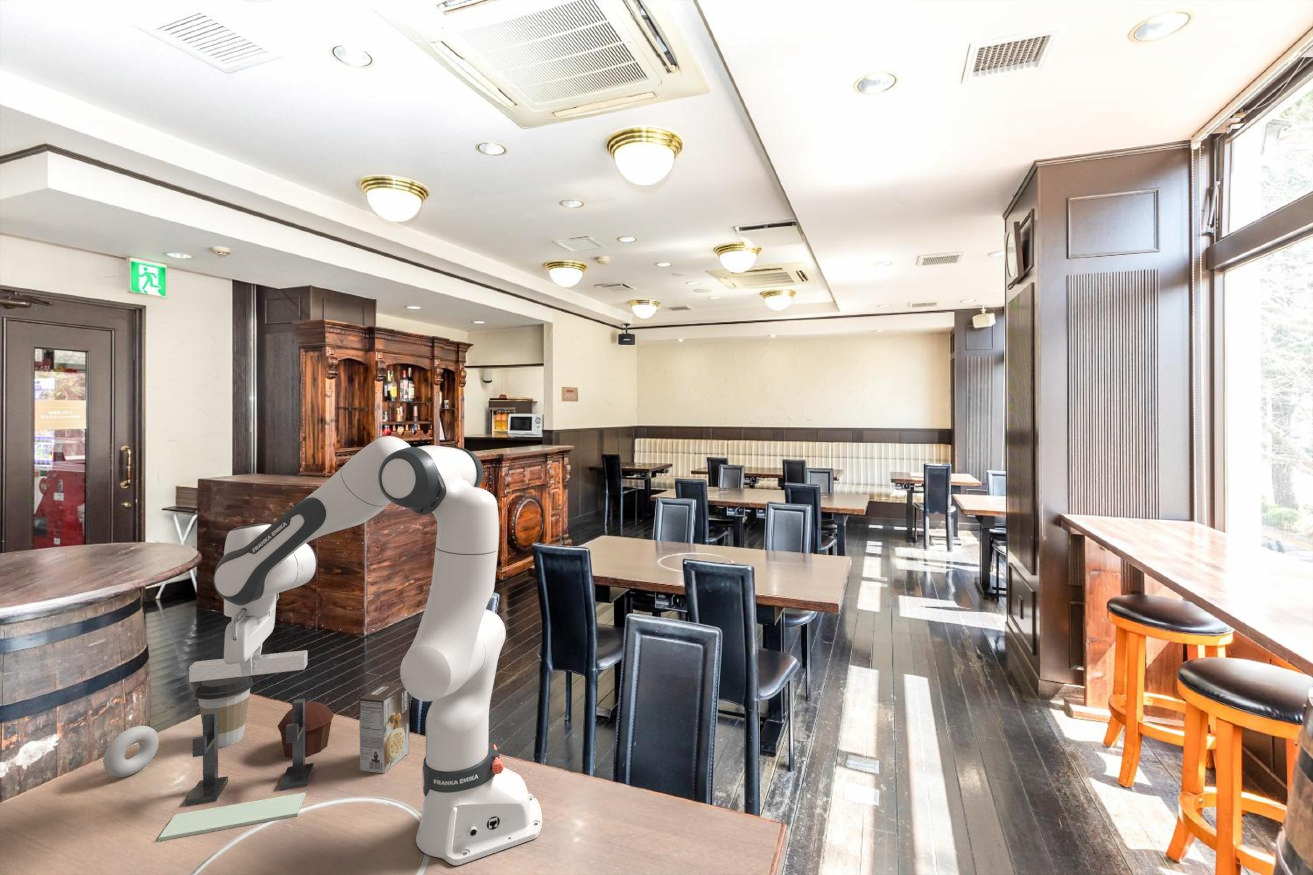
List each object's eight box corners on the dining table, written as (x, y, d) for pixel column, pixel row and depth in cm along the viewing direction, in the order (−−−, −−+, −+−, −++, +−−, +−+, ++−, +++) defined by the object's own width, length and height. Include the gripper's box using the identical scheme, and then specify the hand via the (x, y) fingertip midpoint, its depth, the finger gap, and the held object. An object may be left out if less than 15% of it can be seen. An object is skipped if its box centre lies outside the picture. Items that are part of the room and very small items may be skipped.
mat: (305, 794, 122) (305, 792, 122) (297, 815, 116) (297, 812, 116) (175, 817, 115) (175, 814, 115) (158, 840, 109) (158, 837, 109)
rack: (313, 768, 132) (313, 695, 132) (305, 788, 125) (305, 711, 124) (199, 786, 125) (199, 709, 125) (183, 809, 118) (183, 727, 118)
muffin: (325, 758, 136) (325, 714, 136) (270, 765, 133) (270, 720, 133) (338, 732, 148) (338, 692, 148) (287, 738, 145) (287, 697, 145)
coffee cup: (250, 724, 152) (250, 665, 152) (256, 742, 143) (256, 679, 143) (194, 738, 145) (193, 676, 144) (196, 758, 136) (195, 692, 136)
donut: (109, 788, 125) (109, 740, 124) (99, 785, 126) (98, 737, 126) (163, 763, 134) (162, 718, 134) (152, 760, 135) (152, 716, 135)
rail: (307, 664, 128) (307, 650, 128) (304, 669, 126) (304, 654, 126) (195, 676, 122) (195, 661, 122) (189, 682, 119) (189, 667, 119)
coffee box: (385, 749, 140) (385, 680, 140) (410, 752, 139) (410, 682, 139) (358, 770, 131) (358, 697, 131) (384, 774, 130) (384, 700, 130)
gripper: (252, 615, 115) (253, 688, 115) (280, 589, 134) (281, 651, 134) (213, 619, 113) (213, 692, 113) (247, 591, 132) (248, 654, 132)
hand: (250, 669), depth 124 cm, fingers closed on rail, 3 cm apart
